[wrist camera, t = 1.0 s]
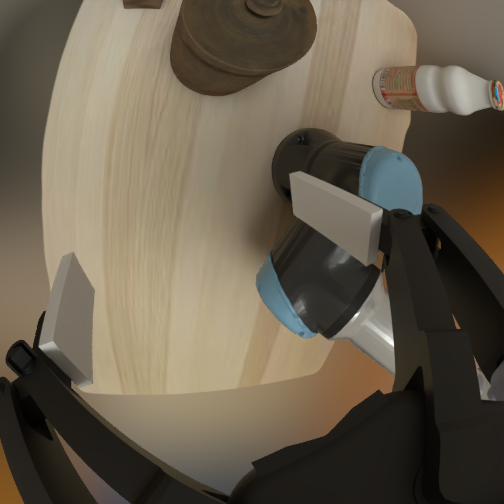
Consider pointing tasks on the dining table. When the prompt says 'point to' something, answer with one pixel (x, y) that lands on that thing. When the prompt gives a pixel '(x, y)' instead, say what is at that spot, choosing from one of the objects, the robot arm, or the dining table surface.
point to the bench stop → (142, 4)
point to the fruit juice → (436, 89)
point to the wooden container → (238, 41)
